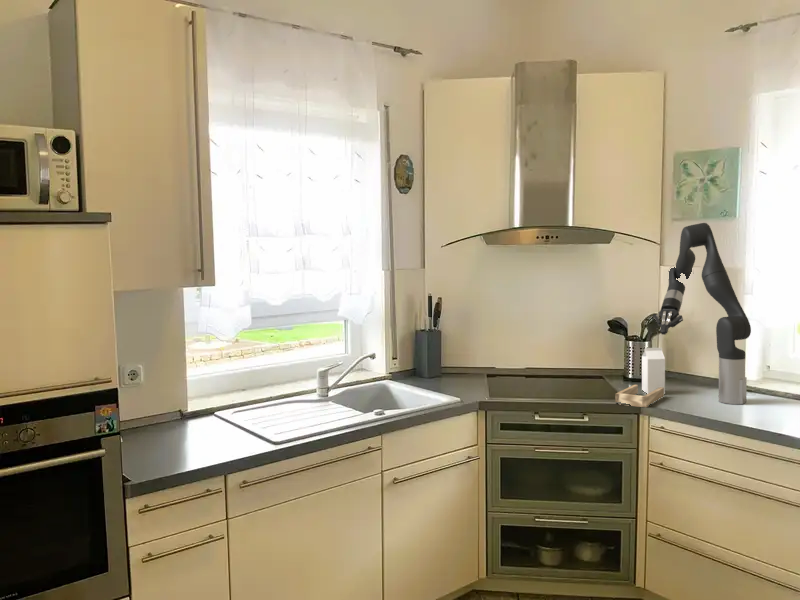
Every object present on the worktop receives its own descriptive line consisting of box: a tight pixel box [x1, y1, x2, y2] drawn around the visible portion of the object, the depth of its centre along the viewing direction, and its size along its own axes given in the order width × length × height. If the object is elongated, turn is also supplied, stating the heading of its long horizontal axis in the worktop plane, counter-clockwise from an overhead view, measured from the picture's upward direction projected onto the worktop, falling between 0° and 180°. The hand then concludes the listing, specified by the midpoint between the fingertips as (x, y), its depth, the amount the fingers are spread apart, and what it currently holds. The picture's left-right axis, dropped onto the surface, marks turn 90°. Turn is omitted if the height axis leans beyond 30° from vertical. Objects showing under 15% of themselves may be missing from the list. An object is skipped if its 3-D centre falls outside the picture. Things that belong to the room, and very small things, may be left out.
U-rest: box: [614, 384, 665, 408], centre depth 270 cm, size 12×20×4 cm, turn 141°
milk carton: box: [641, 347, 666, 395], centre depth 282 cm, size 7×7×19 cm
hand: (663, 333), depth 291 cm, fingers closed
